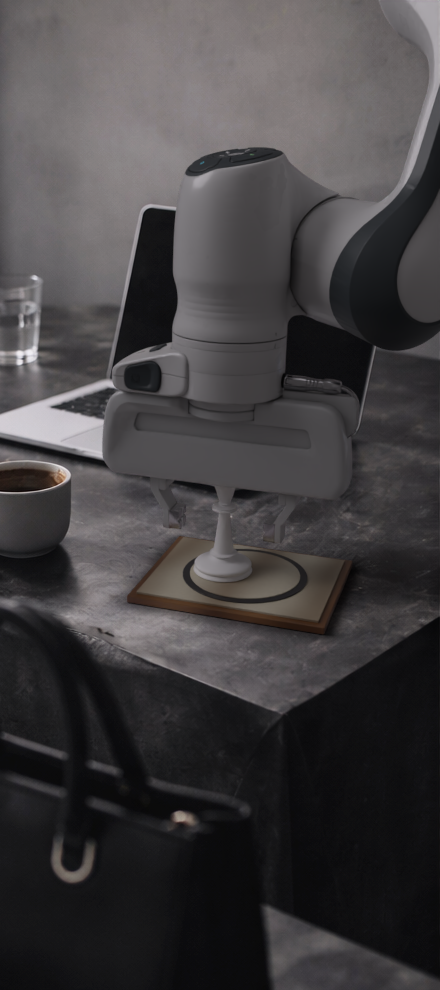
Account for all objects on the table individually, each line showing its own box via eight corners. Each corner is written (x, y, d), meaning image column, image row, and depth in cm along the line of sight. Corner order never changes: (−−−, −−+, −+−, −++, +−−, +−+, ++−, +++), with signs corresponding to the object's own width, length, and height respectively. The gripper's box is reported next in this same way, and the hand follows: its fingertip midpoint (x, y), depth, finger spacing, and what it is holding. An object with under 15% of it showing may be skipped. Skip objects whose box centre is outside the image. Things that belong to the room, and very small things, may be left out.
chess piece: (181, 567, 82) (183, 454, 79) (226, 553, 85) (229, 443, 82) (219, 588, 79) (222, 470, 75) (264, 572, 82) (269, 459, 78)
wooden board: (352, 566, 86) (353, 556, 85) (324, 635, 74) (324, 623, 74) (179, 541, 90) (179, 531, 89) (126, 602, 78) (126, 591, 78)
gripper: (367, 372, 76) (354, 536, 81) (123, 349, 81) (124, 504, 86) (354, 392, 70) (341, 566, 75) (92, 366, 76) (95, 530, 81)
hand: (223, 533), depth 81 cm, fingers open, 7 cm apart
